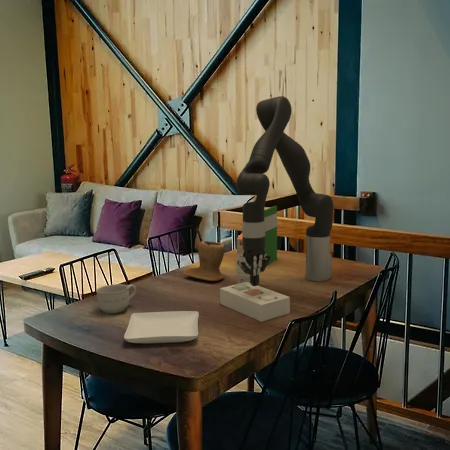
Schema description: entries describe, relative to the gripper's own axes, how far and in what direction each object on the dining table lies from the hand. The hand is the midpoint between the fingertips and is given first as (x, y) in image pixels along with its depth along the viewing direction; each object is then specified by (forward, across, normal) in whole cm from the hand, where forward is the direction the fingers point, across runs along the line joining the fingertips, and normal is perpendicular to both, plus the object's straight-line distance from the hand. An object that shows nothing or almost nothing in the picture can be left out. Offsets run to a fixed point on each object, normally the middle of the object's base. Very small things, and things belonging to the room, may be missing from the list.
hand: (254, 285), depth 190 cm
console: (+8, 0, 0) cm, 8 cm away
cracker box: (+8, -11, -17) cm, 22 cm away
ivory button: (+5, 0, +7) cm, 8 cm away
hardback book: (+9, -38, -42) cm, 57 cm away
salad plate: (+8, +35, -1) cm, 36 cm away
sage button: (+5, 0, -7) cm, 9 cm away
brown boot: (+8, -8, -39) cm, 41 cm away
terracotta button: (+5, 0, 0) cm, 5 cm away
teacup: (+8, +36, -28) cm, 47 cm away
